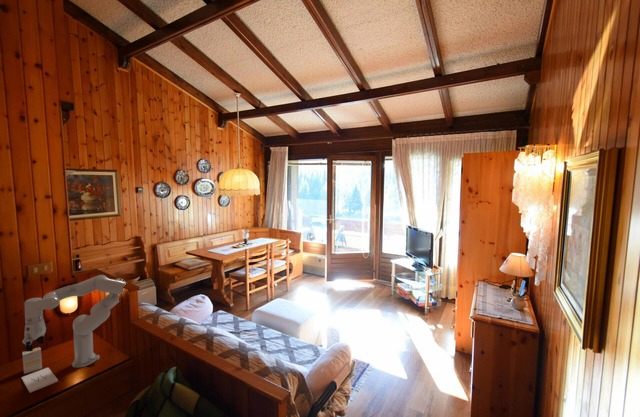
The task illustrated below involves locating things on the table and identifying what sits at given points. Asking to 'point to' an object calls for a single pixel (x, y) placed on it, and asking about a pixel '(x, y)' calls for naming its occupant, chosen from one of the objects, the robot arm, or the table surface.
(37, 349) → the supplement box
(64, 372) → the table surface
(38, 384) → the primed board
